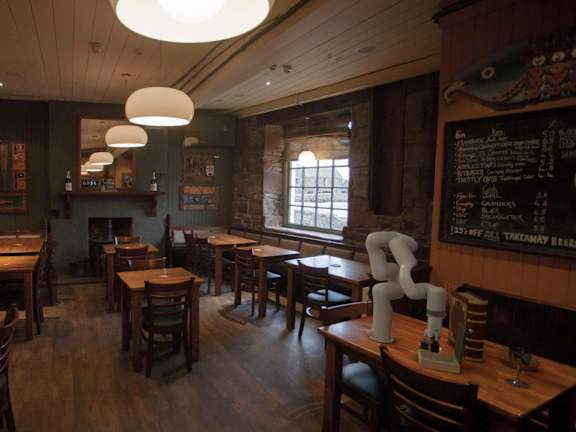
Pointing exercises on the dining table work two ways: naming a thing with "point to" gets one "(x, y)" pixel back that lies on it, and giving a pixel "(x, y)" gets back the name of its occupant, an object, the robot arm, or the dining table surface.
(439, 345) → the paperweight
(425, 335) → the grey black upright piece
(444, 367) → the book
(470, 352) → the decorative book
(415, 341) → the dining table surface
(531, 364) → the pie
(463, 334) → the book cover
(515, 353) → the wine glass
